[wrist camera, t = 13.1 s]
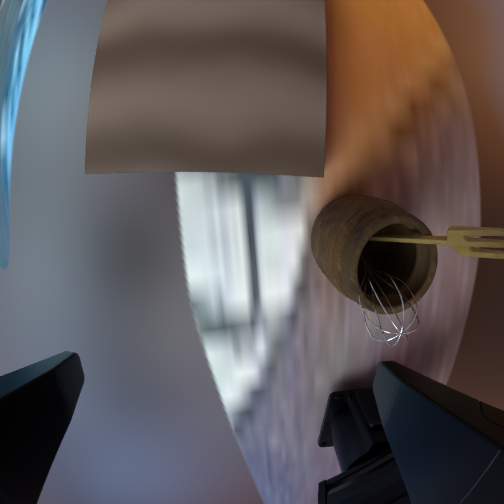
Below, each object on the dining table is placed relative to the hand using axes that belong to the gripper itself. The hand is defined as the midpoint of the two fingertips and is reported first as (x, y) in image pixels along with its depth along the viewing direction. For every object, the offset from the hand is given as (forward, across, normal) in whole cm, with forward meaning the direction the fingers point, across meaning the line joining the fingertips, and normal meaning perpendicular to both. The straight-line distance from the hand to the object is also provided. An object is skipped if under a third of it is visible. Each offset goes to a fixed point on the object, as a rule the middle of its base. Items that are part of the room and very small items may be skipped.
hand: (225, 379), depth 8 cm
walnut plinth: (+13, +2, -13) cm, 18 cm away
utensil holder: (+13, -8, -2) cm, 15 cm away
